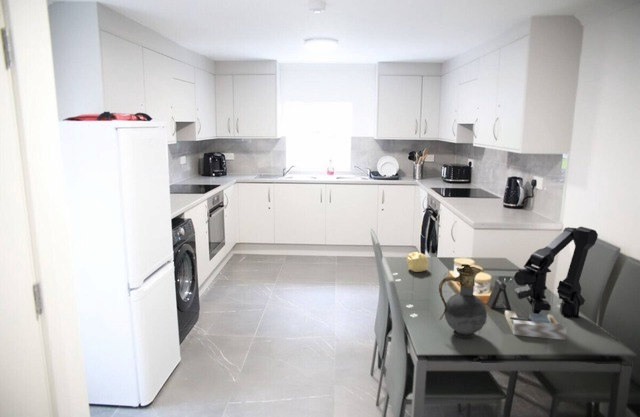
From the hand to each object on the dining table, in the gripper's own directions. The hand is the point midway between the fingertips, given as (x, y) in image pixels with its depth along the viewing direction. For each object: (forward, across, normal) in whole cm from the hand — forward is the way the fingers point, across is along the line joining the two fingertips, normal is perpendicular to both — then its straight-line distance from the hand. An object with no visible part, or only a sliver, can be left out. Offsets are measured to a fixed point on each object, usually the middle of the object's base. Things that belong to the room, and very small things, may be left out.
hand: (534, 316), depth 184 cm
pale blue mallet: (+2, +7, -4) cm, 8 cm away
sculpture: (+2, -56, -48) cm, 74 cm away
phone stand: (+2, -13, -12) cm, 18 cm away
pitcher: (+2, +19, -33) cm, 38 cm away
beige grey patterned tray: (+2, +5, -2) cm, 6 cm away
